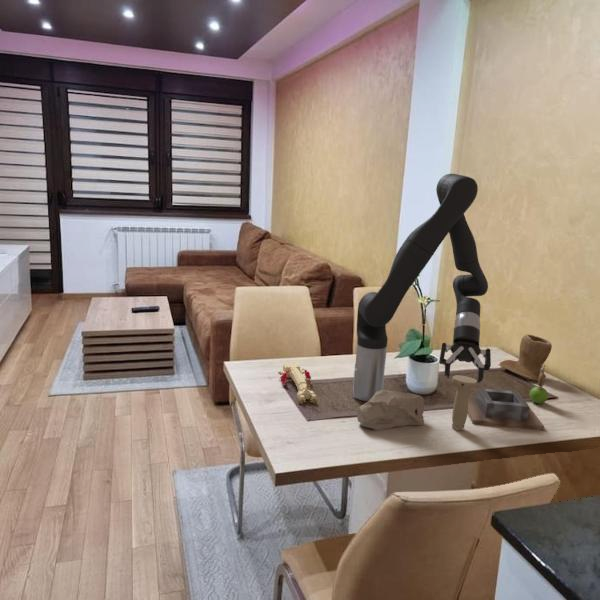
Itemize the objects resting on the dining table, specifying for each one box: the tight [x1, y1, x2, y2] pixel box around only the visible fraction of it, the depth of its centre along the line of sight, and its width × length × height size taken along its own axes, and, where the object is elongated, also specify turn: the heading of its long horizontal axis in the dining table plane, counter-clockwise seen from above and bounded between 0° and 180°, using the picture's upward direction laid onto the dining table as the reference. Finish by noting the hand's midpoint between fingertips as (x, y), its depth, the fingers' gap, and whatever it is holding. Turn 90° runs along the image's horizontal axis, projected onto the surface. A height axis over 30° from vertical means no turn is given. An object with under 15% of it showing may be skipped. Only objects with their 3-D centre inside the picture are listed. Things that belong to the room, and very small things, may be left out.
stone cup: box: [498, 334, 553, 381], centre depth 191 cm, size 15×12×15 cm
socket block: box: [467, 387, 545, 431], centre depth 158 cm, size 20×16×6 cm
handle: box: [451, 374, 477, 431], centre depth 146 cm, size 5×6×15 cm
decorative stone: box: [356, 389, 426, 431], centre depth 147 cm, size 20×8×10 cm, turn 108°
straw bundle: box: [277, 362, 318, 404], centre depth 169 cm, size 10×9×25 cm
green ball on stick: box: [528, 364, 549, 405], centre depth 167 cm, size 5×6×12 cm
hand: (463, 379), depth 150 cm, fingers open, 8 cm apart
